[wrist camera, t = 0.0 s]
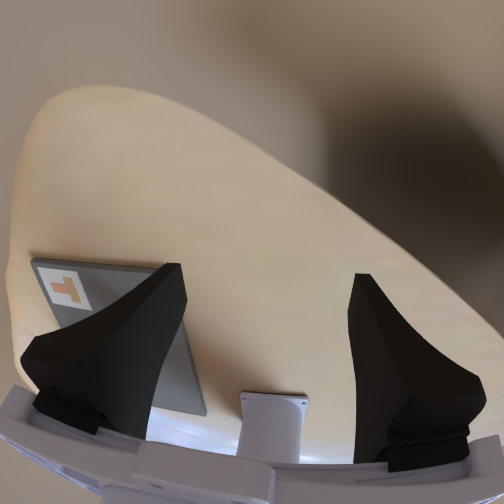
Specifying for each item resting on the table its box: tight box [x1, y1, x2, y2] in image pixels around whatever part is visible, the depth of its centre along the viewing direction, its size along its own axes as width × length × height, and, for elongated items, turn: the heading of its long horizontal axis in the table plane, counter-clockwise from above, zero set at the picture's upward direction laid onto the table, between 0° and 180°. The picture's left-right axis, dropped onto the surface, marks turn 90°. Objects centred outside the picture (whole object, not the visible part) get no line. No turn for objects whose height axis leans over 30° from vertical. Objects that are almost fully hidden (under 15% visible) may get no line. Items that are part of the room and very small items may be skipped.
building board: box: [30, 258, 207, 416], centre depth 33 cm, size 24×17×1 cm
